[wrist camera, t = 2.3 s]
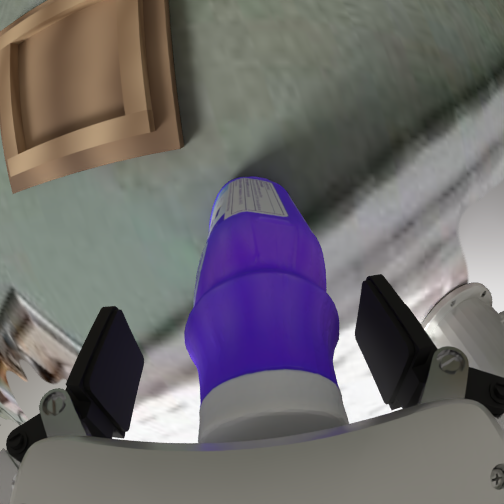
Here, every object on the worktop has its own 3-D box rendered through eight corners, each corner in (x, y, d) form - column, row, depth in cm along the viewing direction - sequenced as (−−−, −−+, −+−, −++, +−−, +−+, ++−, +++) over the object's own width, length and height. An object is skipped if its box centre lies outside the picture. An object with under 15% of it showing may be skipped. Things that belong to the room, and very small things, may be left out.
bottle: (219, 164, 20) (153, 354, 4) (296, 178, 20) (435, 364, 5) (206, 255, 23) (170, 479, 7) (276, 264, 24) (322, 482, 8)
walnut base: (166, -38, 12) (158, -53, 9) (184, 146, 19) (176, 150, 17) (8, 34, 12) (-10, 31, 10) (22, 188, 19) (4, 198, 17)
